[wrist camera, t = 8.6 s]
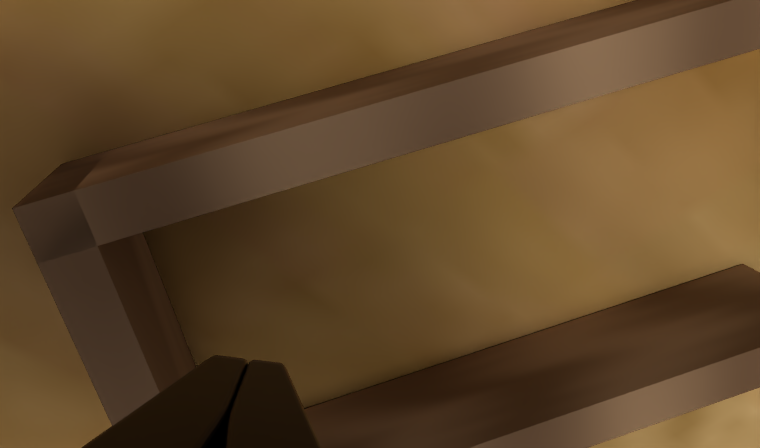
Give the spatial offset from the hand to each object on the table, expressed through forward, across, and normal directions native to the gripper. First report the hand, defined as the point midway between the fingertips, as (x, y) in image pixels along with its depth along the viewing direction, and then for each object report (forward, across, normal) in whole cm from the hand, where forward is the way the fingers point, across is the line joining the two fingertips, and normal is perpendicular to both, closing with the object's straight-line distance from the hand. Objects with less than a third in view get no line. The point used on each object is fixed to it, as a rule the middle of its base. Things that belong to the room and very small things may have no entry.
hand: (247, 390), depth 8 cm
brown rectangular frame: (+11, -4, +2) cm, 12 cm away
